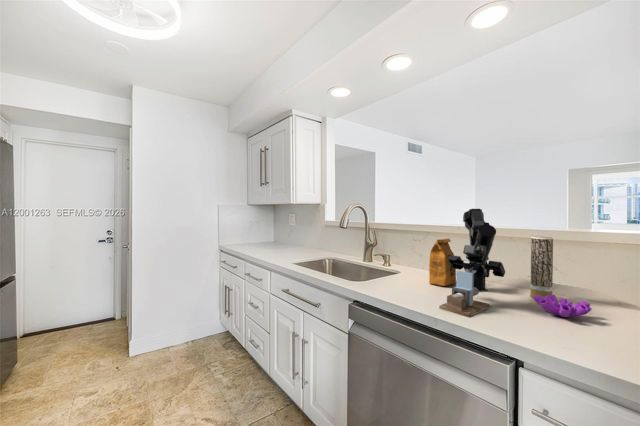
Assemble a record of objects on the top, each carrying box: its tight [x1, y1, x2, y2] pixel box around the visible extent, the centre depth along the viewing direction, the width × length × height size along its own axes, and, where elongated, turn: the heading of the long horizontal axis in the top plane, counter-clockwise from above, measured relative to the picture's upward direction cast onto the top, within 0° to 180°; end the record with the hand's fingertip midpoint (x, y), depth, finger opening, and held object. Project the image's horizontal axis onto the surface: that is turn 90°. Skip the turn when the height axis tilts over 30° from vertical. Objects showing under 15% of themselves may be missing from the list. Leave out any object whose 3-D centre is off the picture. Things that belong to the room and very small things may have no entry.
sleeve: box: [455, 270, 474, 306], centre depth 98 cm, size 3×5×11 cm, turn 38°
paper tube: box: [530, 235, 554, 299], centre depth 109 cm, size 7×7×25 cm
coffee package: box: [428, 237, 457, 287], centre depth 131 cm, size 10×12×22 cm
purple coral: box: [532, 294, 592, 318], centre depth 92 cm, size 11×15×10 cm
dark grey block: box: [451, 286, 470, 307], centre depth 97 cm, size 2×5×5 cm, turn 38°
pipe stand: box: [438, 287, 490, 318], centre depth 99 cm, size 17×10×6 cm, turn 128°
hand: (467, 283), depth 101 cm, fingers closed
